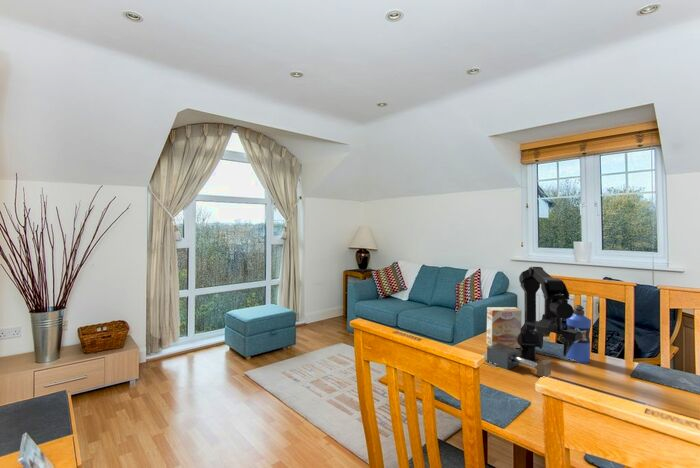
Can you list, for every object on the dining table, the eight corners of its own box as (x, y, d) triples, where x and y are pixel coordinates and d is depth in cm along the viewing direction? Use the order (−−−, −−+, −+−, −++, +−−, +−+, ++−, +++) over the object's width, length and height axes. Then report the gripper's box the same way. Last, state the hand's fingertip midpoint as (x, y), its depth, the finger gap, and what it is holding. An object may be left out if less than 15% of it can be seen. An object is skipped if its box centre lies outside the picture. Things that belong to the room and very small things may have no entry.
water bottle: (565, 354, 166) (566, 302, 166) (589, 358, 162) (590, 304, 161) (566, 361, 158) (567, 306, 158) (591, 365, 154) (592, 308, 153)
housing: (499, 357, 162) (499, 343, 162) (519, 364, 154) (519, 349, 154) (486, 361, 157) (487, 346, 157) (507, 369, 149) (507, 353, 149)
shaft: (509, 360, 156) (509, 348, 156) (550, 374, 141) (550, 362, 140) (502, 362, 153) (502, 351, 153) (544, 377, 138) (544, 365, 138)
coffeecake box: (491, 349, 174) (492, 310, 173) (486, 344, 181) (486, 306, 180) (521, 348, 174) (522, 310, 173) (514, 343, 181) (515, 306, 181)
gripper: (517, 309, 139) (517, 348, 139) (567, 320, 123) (566, 364, 123) (534, 306, 144) (533, 343, 145) (583, 316, 128) (582, 358, 129)
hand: (552, 352), depth 135 cm, fingers open, 9 cm apart
